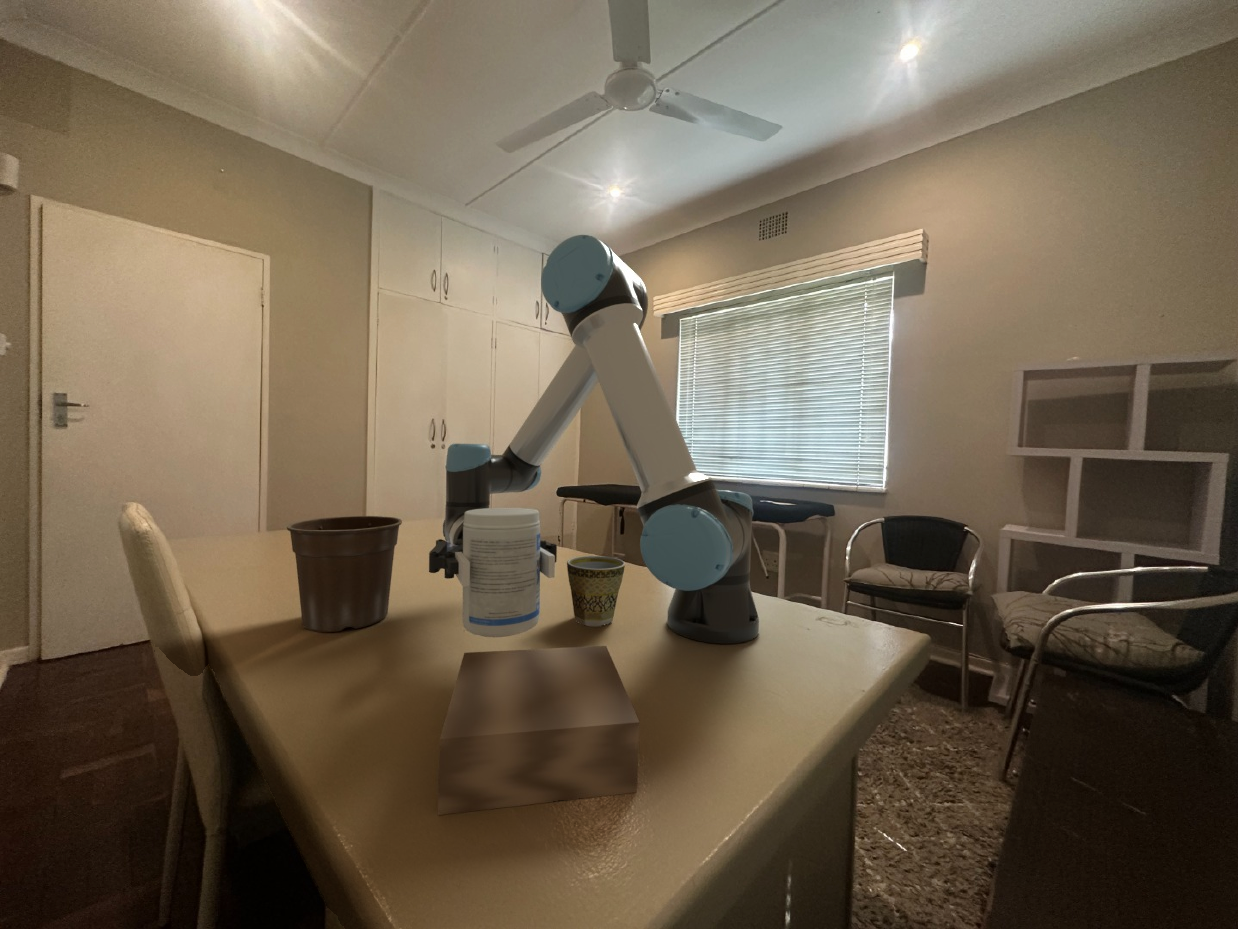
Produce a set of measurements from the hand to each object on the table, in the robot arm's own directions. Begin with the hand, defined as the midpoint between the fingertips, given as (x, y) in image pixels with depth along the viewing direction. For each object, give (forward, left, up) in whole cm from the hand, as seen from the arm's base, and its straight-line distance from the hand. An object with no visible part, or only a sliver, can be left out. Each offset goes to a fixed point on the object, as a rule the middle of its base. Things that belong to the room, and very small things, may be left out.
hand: (510, 570), depth 56 cm
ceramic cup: (-14, -24, -15) cm, 31 cm away
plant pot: (+27, -27, -15) cm, 41 cm away
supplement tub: (+1, -4, -8) cm, 9 cm away
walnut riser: (-3, +11, -14) cm, 18 cm away
